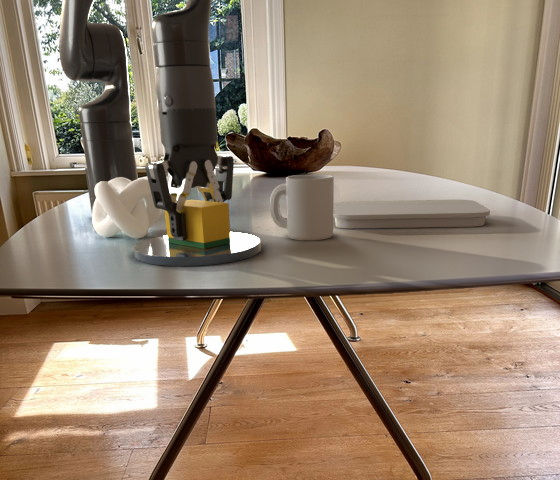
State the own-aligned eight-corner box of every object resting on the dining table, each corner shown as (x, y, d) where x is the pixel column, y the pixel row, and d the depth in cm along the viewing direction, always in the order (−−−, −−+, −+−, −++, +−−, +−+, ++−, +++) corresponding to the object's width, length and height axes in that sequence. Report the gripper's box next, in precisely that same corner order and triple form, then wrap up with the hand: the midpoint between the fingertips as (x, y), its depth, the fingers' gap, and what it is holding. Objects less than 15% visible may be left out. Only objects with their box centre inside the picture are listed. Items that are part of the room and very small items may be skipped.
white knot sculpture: (157, 242, 93) (151, 182, 89) (80, 244, 93) (71, 184, 89) (169, 229, 103) (164, 175, 100) (100, 231, 103) (92, 177, 100)
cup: (330, 241, 90) (330, 179, 86) (265, 240, 92) (263, 179, 88) (335, 232, 96) (336, 174, 93) (275, 231, 98) (273, 175, 94)
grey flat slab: (331, 214, 113) (331, 202, 112) (470, 211, 111) (471, 199, 110) (331, 229, 98) (332, 215, 97) (493, 226, 96) (494, 212, 95)
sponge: (167, 242, 86) (163, 203, 84) (194, 237, 89) (190, 199, 87) (204, 249, 81) (201, 207, 79) (231, 243, 84) (228, 203, 82)
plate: (109, 255, 85) (108, 246, 85) (204, 235, 97) (203, 227, 97) (191, 273, 74) (190, 263, 73) (287, 248, 86) (286, 239, 85)
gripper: (208, 106, 85) (217, 226, 92) (123, 108, 75) (140, 241, 82) (245, 104, 80) (251, 231, 87) (160, 106, 71) (174, 248, 77)
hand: (197, 235), depth 85 cm, fingers open, 5 cm apart
